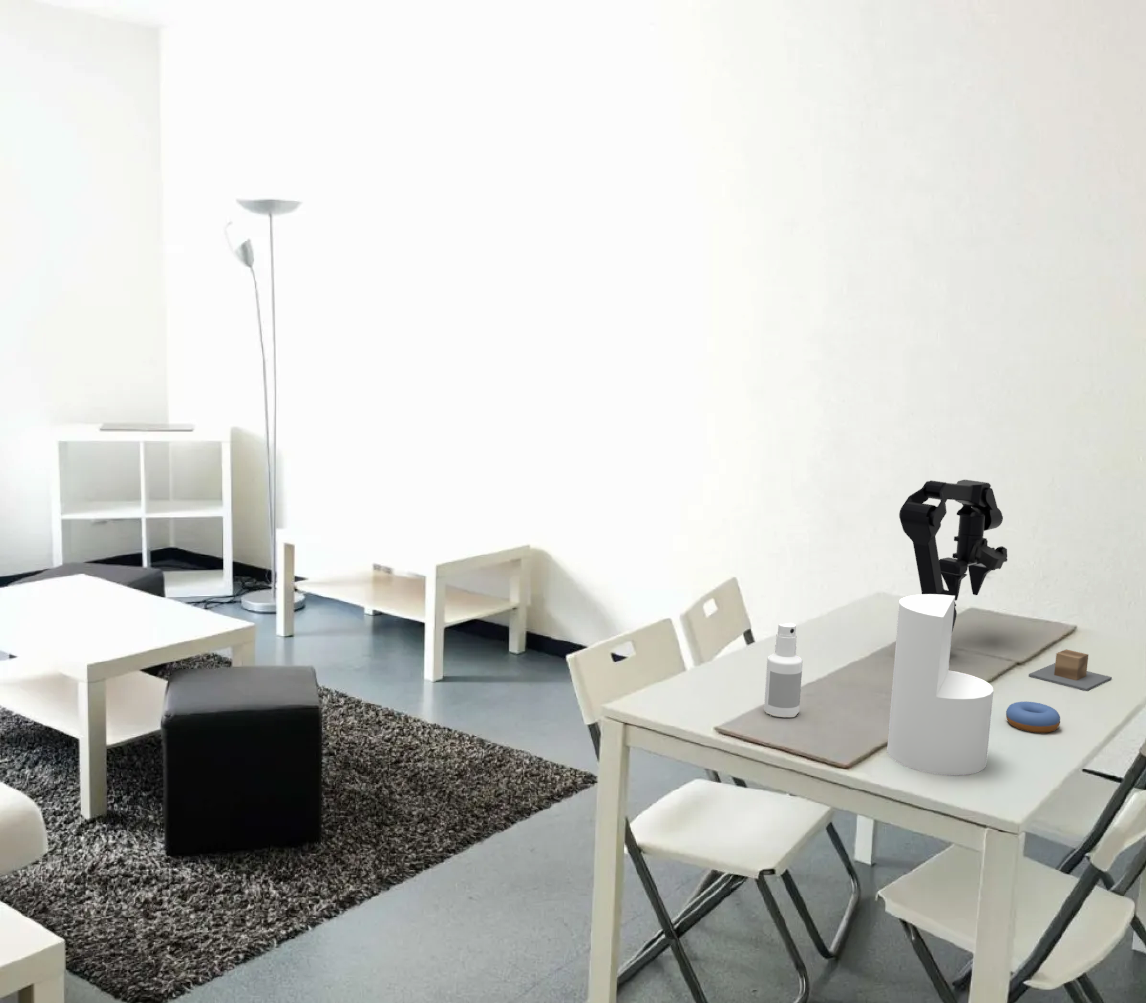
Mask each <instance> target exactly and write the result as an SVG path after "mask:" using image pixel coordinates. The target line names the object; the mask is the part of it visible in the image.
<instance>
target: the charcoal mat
mask: <svg viewBox="0 0 1146 1003" xmlns="http://www.w3.org/2000/svg"><path fill="white" fill-rule="evenodd" d="M1054 672H1055V662H1053V663H1052V664H1049V665H1047V666H1044V667H1042V668H1040V669H1038V670H1035V671H1032V672H1030V673H1028V677H1030V678H1034V679H1038V680H1041V681H1045V682H1050V683H1054V684H1057V685H1060V686H1065V687H1069V688H1073V689H1076V690H1080V691H1085V692H1088V691H1090V690H1092V689H1094V688H1096V686H1097V687H1099V686H1101V685H1103V684H1105V683H1107V682H1109V681H1111V680H1112V678H1113V677H1112V676H1109V675H1105V674H1100V673H1097V672H1093V671H1089V670H1087V673H1086V677H1083V678H1081V679H1079V680H1077V681H1076V680H1072V679H1068V678H1064V677H1060V676H1056V675H1054ZM1108 680H1109V681H1108ZM1102 683H1103V684H1102ZM1100 684H1101V685H1100ZM1098 685H1099V686H1098Z"/></svg>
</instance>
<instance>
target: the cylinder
mask: <svg viewBox="0 0 1146 1003" xmlns="http://www.w3.org/2000/svg"><path fill="white" fill-rule="evenodd" d="M898 601H899V602H898V610H897V612H898V613H897V624H896V638H895V649H894V650H895V651H894V663H893V674H892V685H891V686H892V688H891V700H890V711H889V726H888V736H887V749H886V754H887V755H888V757H889V758H890V759H892V760H893V761H895V763H898V764H900V765H902V766H903V767H906V768H909V769H912V770H915V771H919V772H923V773H927V774H928V773H929V774H933V775H939V776H941V775H942V776H967V775H972V774H977V773H979V772H981V771H983V770H985V768H986V766H987V762H988V751H989V741H990V731H991V730H990V728H991V719H992V718H991V717H992V708H993V698H994V687H993V685H991V684H990V683H989V682H988V681H986V680H984V679H982V678H980V677H977V676H974V675H971V674H968V673H964V672H961V671H954V670H950V669H949V668H950V658H951V649H952V648H951V645H952V634H953V632H952V625H953V614H954V603H955V604H956V601H955V596H951V595H939V594H922V593H921V594H911V595H907V596H904V597H902V598H900V599H899V600H898Z"/></svg>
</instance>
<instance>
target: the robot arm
mask: <svg viewBox="0 0 1146 1003" xmlns="http://www.w3.org/2000/svg"><path fill="white" fill-rule="evenodd" d="M929 499H932V500H940V502H939V503H938V504H937V505H934V504H927V503H925V502H927V501H928V500H929ZM948 500H952V501H953V500H954V501H955V502H957V503H959V504H961V505H962V507H961V508H960V509H958V511H957V512H956V516H959V519H958V520H959V522H958V530H957V532H958V533H957V535H956V536H953V541H954V542H957V543H956V552H953V553H952V555H951V556H952V557H944V558H940V557H939V552H938V546H937V540H936V535H937V534H938V532H939V530H940V528H941V526H942V523H941V522H942V521H943V520H944V518H945V516H946V515H947V505H946V504H947V501H948ZM898 517H899V521H900V524H901V528H902V530H903V533H904V534H905V535H906V536H907V537H908V538H909V539H910V540H911V542H912V546H913V550H914V556H915V561H916V568H917V574H918V579H919V585H920V590H921V594H939V595H951V596H955V603H954V614H953V625H952V633H953V631H954V627H955V623H956V619H957V615H958V614H957V609H956V606H957V603H956V601H958V598H959V594H960V589H961V584H962V581H963V579H964V578H965V577H966V576H968V575H969V580H970V588H971V592H972V594H973V595H974V596H978V595H979V594H980V590H981V587H982V585H983V583H984V581H985V578H986V577H987V575H988V574H989V573H990V572H991V571H995V570H1000V569H1002V568H1003V567H1002V566H1003V564H1004V563H1007V562H1008V549H1007V547H1005V546H997V547H996V548H995V547H991V546H988V542H989V541H988V540H987V538H986V537H984V534H985V533H984V532H985V531H989V530H990V531H991V530H992V529H993V530H994V529H997V528H998V527H1000V526H1001V525H1002V523H1003V520H1004V516H1003V512H1002V511H1001V510H1000V508H998V504H997V500H996V496H995V494H994V490H993V488H992V485H991V484H990V482H986V481H985V482H984V481H977V480H971V479H961V480H958V481H957V482H956V483H955V482H954V483H952V482H946V481H945V482H944V481H938V480H931V479H930V480H927V481H926V482H925V483H924V484H923V486H922V487H921V488H920V489H918V490H917V491H915V492H914V493H912V494H910V495H909V496H908V497H907V498H906V500H905V502H904V503H903V504H902V506H901V507H900V510H899V513H898ZM967 572H968V574H967ZM943 581H944V582H943ZM944 583H945V585H946V588H947V589H945V588H944Z"/></svg>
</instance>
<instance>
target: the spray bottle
mask: <svg viewBox="0 0 1146 1003" xmlns="http://www.w3.org/2000/svg"><path fill="white" fill-rule="evenodd" d="M796 630H797V624H795V623H793V622H786V623H778V625H777V634H776V638H775V649H774V652H773V653H771V654H770V655H768V657H767V661H766V674H765V675H766V676H765V692H764V706H763V707H764V708H763V710H764V709H765V710H764V712H765V711H767V712H769V713H772V714H778V715H793V714H797V713H798V712H799V713H800V708H801V692H802V689H801V688H802V675H803V674H802V673H803V662H804V661H803V659H802V658H801V657H800V656H799V655H797V633H796V632H797V631H796Z"/></svg>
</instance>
